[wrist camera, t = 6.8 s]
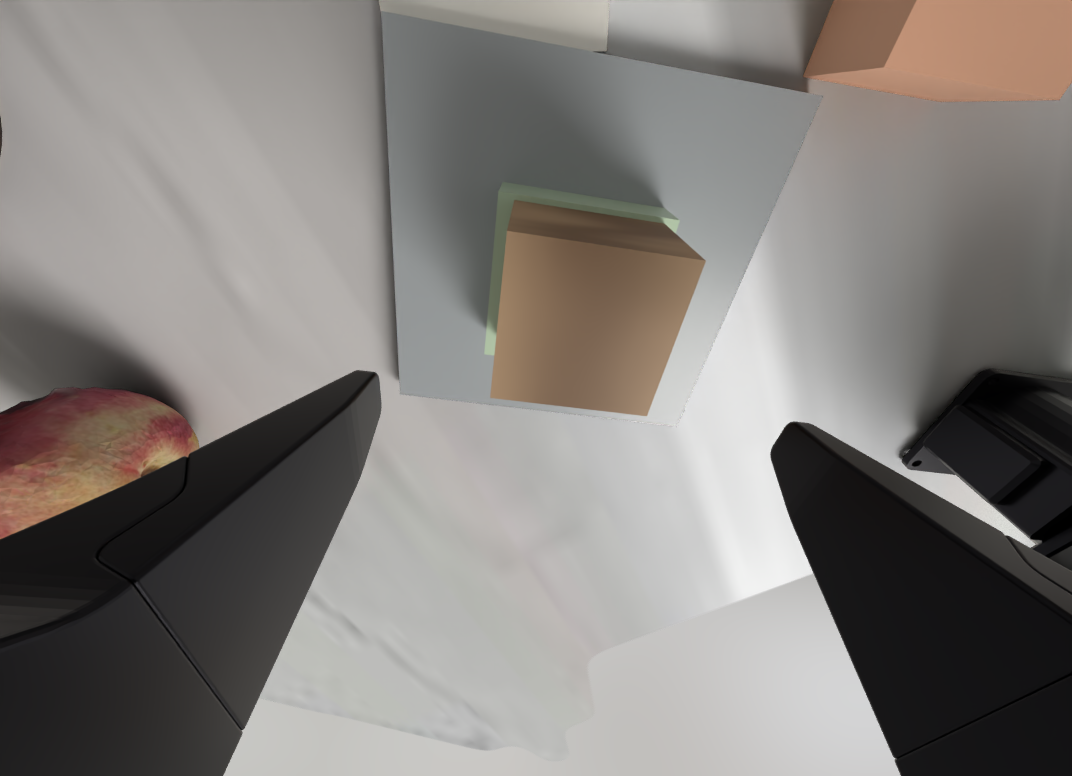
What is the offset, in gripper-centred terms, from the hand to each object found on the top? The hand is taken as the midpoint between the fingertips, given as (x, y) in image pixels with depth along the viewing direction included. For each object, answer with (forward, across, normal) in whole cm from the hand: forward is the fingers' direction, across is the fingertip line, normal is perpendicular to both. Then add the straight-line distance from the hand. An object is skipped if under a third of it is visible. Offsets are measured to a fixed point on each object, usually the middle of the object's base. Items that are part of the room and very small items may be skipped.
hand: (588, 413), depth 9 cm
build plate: (+10, 0, 0) cm, 10 cm away
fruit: (+10, +20, +11) cm, 25 cm away
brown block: (+7, 0, 0) cm, 7 cm away
